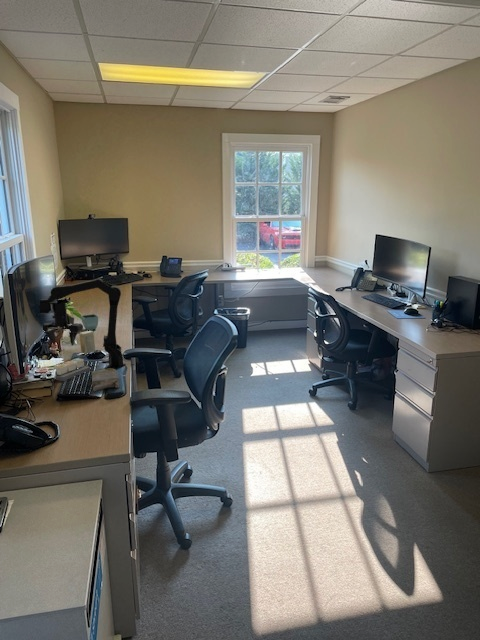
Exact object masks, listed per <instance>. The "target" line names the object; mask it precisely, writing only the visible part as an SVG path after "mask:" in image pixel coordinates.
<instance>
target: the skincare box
mask: <svg viewBox="0 0 480 640" xmlns="http://www.w3.org/2000/svg"><path fill="white" fill-rule="evenodd" d="M78 333H79V342H80V351H81V354H82V353H84V354H87V353H90V352H93V351H96V345H95V344H96V343H95V336H94V330H89V331H88V330H86V331H82V332H81V331H80V332H78Z"/></svg>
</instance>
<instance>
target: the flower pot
mask: <svg viewBox="0 0 480 640" xmlns="http://www.w3.org/2000/svg"><path fill="white" fill-rule="evenodd" d="M80 319H81V324H82V325H83V328H84V329H85V330H86V329H87V330H86V331H88V330H89V331H94V330H93V329H95V330H97V328H98V325H99V316H98V315H96V314H94V313H93V314H87V315H86V314H84V315H81V316H80Z"/></svg>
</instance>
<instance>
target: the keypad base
mask: <svg viewBox="0 0 480 640" xmlns="http://www.w3.org/2000/svg"><path fill="white" fill-rule="evenodd" d="M88 370H91V366H88V365H84V366H83V367H82V368H80V369H75V370H72V372H68V371H67V373H64V374H62V375H58V374H57V376H56V380H55V381H60V382H66V381H68V380H67V379H69V378H71V377H74V376H76V375H78V374H81V373H83V372H86V371H88ZM76 377H77V376H76ZM74 378H75V377H74ZM71 379H72V378H71ZM65 380H66V381H65ZM69 380H70V379H69Z"/></svg>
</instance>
